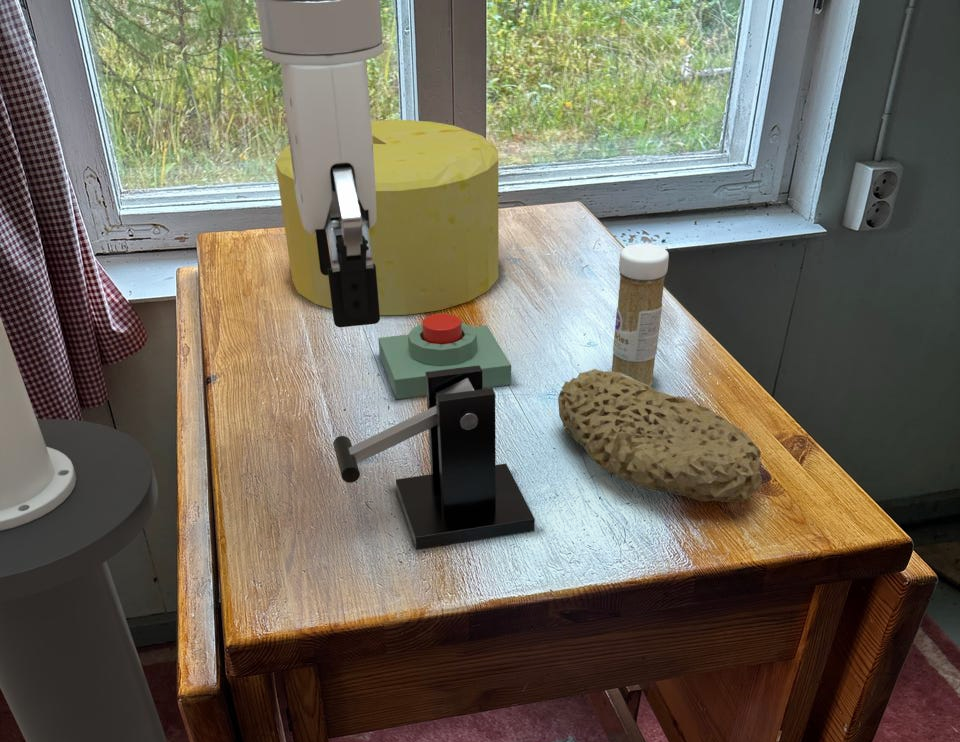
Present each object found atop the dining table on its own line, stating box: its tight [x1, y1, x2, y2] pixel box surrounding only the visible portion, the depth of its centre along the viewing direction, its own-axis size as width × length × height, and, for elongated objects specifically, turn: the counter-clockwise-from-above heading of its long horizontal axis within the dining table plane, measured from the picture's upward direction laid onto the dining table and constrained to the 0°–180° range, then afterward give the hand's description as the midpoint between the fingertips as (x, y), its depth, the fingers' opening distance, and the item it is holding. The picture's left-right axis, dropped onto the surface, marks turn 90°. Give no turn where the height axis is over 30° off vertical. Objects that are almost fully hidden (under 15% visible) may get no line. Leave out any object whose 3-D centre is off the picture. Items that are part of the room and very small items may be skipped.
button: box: [421, 313, 463, 344], centre depth 99 cm, size 4×4×2 cm
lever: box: [332, 378, 474, 484], centre depth 76 cm, size 12×5×2 cm, turn 104°
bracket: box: [395, 365, 536, 550], centre depth 79 cm, size 10×9×12 cm
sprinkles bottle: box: [610, 243, 670, 388], centre depth 95 cm, size 5×5×13 cm
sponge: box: [557, 368, 763, 503], centre depth 85 cm, size 13×8×20 cm
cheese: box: [275, 119, 499, 316], centre depth 118 cm, size 26×26×15 cm
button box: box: [377, 321, 512, 400], centre depth 101 cm, size 12×10×4 cm
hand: (349, 296), depth 72 cm, fingers open, 9 cm apart
